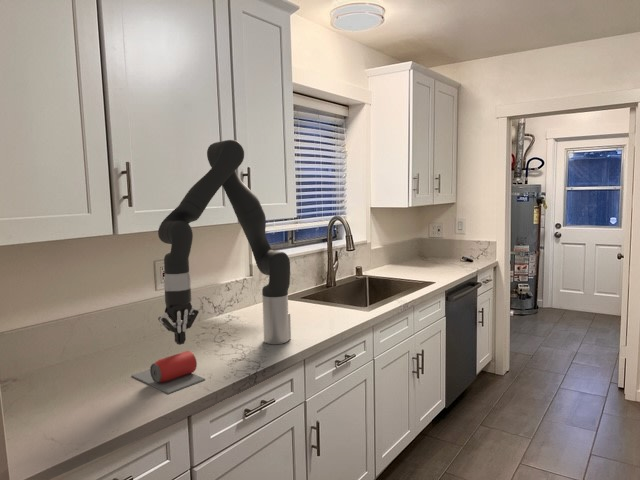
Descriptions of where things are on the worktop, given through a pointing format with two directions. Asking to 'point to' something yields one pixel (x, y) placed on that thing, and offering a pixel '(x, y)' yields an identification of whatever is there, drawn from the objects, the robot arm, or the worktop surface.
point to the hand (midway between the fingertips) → (180, 343)
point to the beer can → (173, 367)
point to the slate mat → (169, 385)
